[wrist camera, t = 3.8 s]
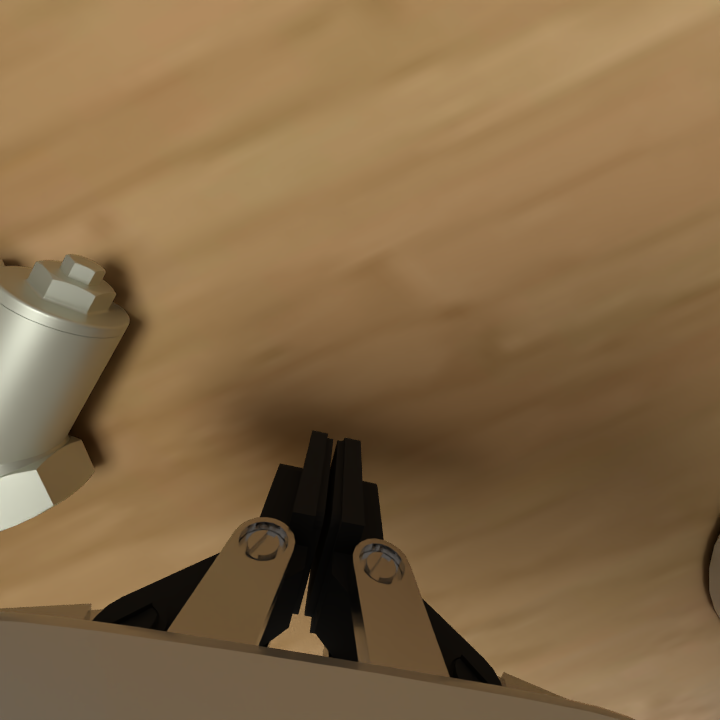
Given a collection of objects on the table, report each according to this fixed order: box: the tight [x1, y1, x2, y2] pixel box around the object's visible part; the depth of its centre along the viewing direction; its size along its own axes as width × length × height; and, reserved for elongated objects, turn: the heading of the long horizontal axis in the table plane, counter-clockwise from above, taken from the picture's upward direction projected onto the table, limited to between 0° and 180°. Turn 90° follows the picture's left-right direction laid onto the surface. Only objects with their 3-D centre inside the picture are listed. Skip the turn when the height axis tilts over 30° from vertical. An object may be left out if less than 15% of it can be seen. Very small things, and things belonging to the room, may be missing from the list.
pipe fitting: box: [0, 254, 130, 531], centre depth 11 cm, size 8×4×7 cm
